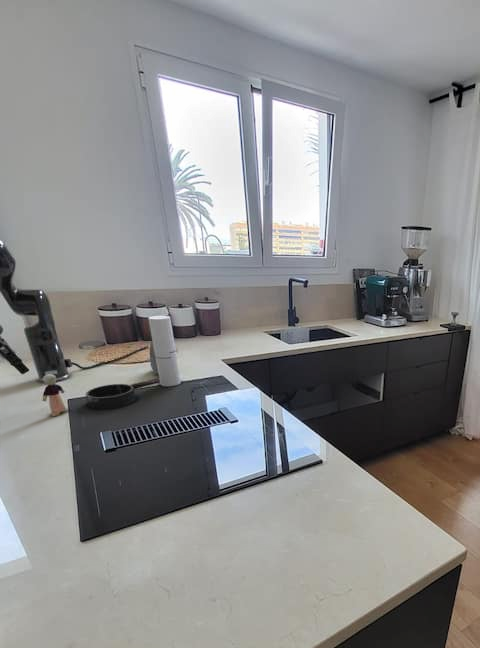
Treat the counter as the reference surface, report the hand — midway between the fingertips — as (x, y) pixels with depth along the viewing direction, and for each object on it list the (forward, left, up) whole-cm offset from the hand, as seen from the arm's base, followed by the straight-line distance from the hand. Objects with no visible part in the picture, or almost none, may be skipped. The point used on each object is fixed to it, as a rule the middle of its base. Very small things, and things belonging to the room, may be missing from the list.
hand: (19, 366), depth 114 cm
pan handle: (-18, +27, -13) cm, 35 cm away
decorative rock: (-41, +26, -16) cm, 51 cm away
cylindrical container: (-28, +32, -16) cm, 45 cm away
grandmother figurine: (-2, +6, -16) cm, 17 cm away
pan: (-10, +18, -16) cm, 26 cm away
